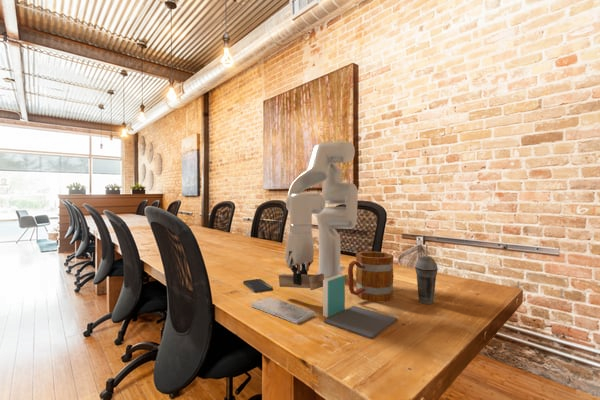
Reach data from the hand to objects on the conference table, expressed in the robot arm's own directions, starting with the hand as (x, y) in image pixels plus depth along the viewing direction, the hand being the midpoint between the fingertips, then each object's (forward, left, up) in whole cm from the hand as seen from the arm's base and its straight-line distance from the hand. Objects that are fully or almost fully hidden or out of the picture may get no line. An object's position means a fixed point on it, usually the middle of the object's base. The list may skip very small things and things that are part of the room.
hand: (300, 283), depth 102 cm
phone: (-2, -25, -7) cm, 26 cm away
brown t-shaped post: (0, 0, -1) cm, 1 cm away
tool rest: (+10, +1, -7) cm, 12 cm away
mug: (-20, +15, -7) cm, 26 cm away
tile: (0, +14, -7) cm, 15 cm away
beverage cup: (-29, +32, -7) cm, 44 cm away
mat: (0, +23, -7) cm, 24 cm away
